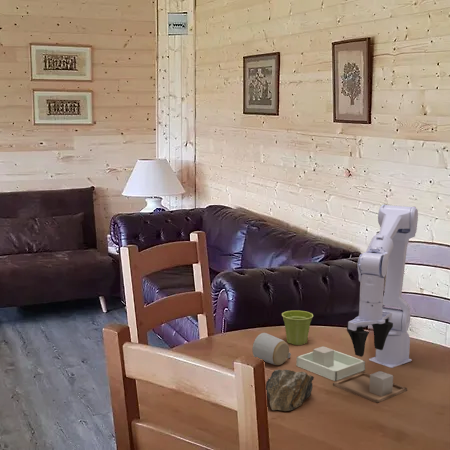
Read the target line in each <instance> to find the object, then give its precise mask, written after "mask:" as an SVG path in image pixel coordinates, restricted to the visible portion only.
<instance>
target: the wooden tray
mask: <svg viewBox="0 0 450 450" xmlns="http://www.w3.org/2000/svg"><path fill="white" fill-rule="evenodd" d="M370 375H371V374H370V373H367V372H365V371H362V372H359V373H356V374H354V375H351V376H348V377H346V378H343V379H340V380H337V381H334V382H333V383H332V386H333V387H334V388H335V387H336V388H338V389H341V390H343V391H345V392H348V393H350V394H353V395H356V396H357V397H361V398H362V399H366V400H367V401H371V402H373V403H375V404H378V403H381V402H384V401H385V400H388V399H391V398H394V397H395V396H397V395H400V394H402V393H404V392H405V393H406V392H407V391H408V387H405V386H403V385H400V384H398V383H394V382H393V390H392V393H390V394H388V395H385V396H383V397H382V396H379V395H376V394H374V393H371V392H369V389H370Z"/></svg>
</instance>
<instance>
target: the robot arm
mask: <svg viewBox="0 0 450 450" xmlns="http://www.w3.org/2000/svg"><path fill="white" fill-rule="evenodd" d="M377 214H378V215H377V221H378V225H379V232H378V234H375V235H374V236H372V238H371V241H370V243H369V245H368V246H367V249H366V251H365V252H363V253H360V255H359V257H358V260H357V272H358V282H360V286H359V303H358V305H359V307H358V308H359V309H358V310H359V311H358V315H357V316H356V317H355V318H354V319H352V320H349V321H347V326H346V331H347V333H348V335H349V337H350V339H351V342H352V346H353V350H354V354H355V355H356V356H357V357H364V354H365V347H366V341H367V338H368V336H369V334H370V331H368V330H365V329H364V327H365V328H366V327H368V326H371V327H372V330H373V346H374V349H375V356H374V357H370V358H368V361H369V362H370V361H371V362H373V363H376V364H378V365H382V366H384V367H388V368H391V369H393V368H395V367H399V366H401V365H404V364H408V363H410V362H411V361H412V358H410V346H411V337H410V334H409V332H408V330H409V328H410V324H411V307H410V305H409V303H408V301H406V300H405V299H404V298H403V297H402V293H403V285H404V277H405V266H406V259H407V257H406V256H407V250H408V244H409V241H410V239H413V238H415V237H416V233H417V230H418V228H417V227H418V221H419V213H418V208H417V207H416V206H405V205H392V204H382V205H381V206H379V209H378V213H377ZM385 277H386V278H385ZM384 282H385V283H384ZM385 306H386V307H385ZM392 307H395V308H392ZM399 308H400V309H399Z"/></svg>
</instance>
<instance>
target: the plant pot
mask: <svg viewBox="0 0 450 450" xmlns="http://www.w3.org/2000/svg"><path fill="white" fill-rule="evenodd" d="M281 316H282V318H283V322H284V329H285V334H286V335H285V338H286V343H287V344H288V345H289V344H292V345H293V346H302V345H305V344H308V337H309V333H310V326H311V322H312V320H313V317H314V314H313V313H312V312H309V311H305V310H287V311H284V312H282V313H281Z"/></svg>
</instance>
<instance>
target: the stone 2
mask: <svg viewBox="0 0 450 450" xmlns="http://www.w3.org/2000/svg"><path fill="white" fill-rule="evenodd" d="M393 383H394V374H391V373H387V372H384V371H382V370H379V371H376V372H374V373H371V374H370V389H369V392H371V393H374V394H376V395H379V396H382V397H383V396H385V395H388V394H390V393H392V390H393Z"/></svg>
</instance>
